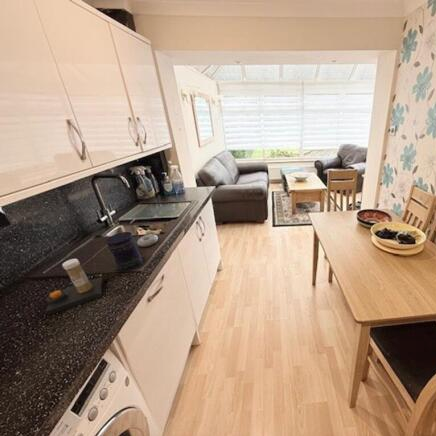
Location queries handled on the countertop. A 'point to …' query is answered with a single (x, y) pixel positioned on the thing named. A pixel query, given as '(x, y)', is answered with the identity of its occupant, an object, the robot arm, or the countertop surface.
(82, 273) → the sprinkles bottle
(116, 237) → the storage jar
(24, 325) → the countertop surface
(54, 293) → the tare button
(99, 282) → the scale
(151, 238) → the donut
